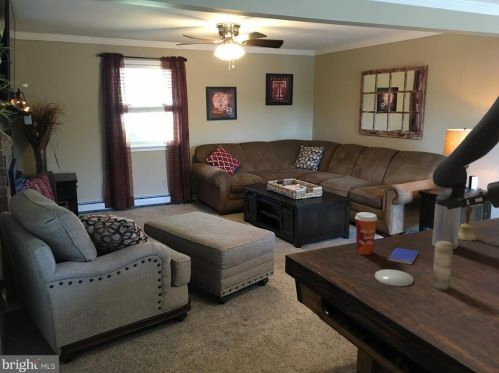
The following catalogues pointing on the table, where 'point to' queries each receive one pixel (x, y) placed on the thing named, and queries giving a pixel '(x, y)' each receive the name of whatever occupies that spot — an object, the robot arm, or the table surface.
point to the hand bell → (466, 227)
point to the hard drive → (403, 255)
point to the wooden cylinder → (442, 265)
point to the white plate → (394, 277)
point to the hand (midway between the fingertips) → (450, 204)
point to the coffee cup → (365, 232)
